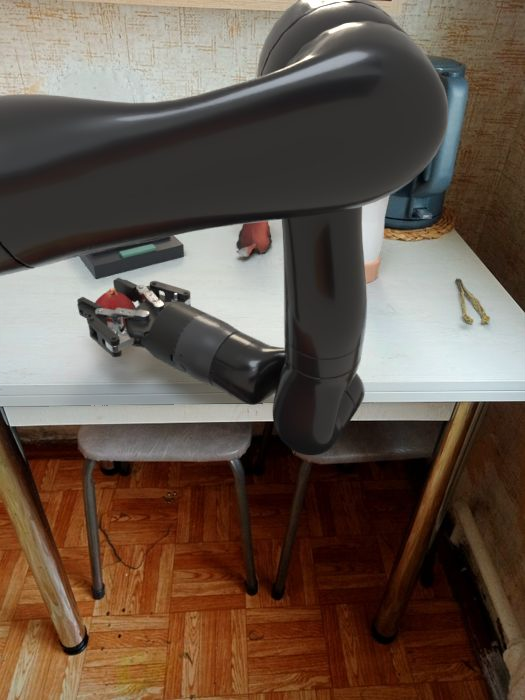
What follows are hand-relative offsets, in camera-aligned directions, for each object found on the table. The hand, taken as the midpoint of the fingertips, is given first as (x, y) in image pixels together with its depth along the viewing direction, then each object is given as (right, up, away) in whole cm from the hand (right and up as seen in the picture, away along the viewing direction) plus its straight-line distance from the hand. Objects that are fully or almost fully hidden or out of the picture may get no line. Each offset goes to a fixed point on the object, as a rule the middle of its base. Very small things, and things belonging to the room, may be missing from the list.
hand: (98, 294), depth 67 cm
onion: (+2, -6, +3) cm, 7 cm away
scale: (-3, +11, +24) cm, 27 cm away
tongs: (+55, 0, +18) cm, 58 cm away
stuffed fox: (+19, +11, +27) cm, 35 cm away
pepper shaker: (+38, +6, +23) cm, 45 cm away
